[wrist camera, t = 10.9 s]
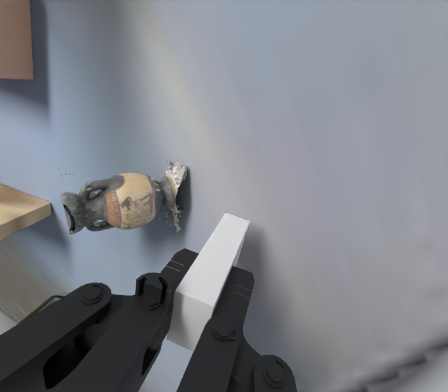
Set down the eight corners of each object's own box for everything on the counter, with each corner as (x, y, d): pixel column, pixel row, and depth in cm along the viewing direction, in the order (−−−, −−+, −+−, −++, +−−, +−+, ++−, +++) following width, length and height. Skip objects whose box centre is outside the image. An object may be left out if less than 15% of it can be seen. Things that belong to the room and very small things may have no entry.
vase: (117, 211, 20) (46, 248, 14) (120, 141, 18) (40, 154, 13) (180, 232, 19) (129, 281, 13) (191, 160, 17) (137, 183, 11)
